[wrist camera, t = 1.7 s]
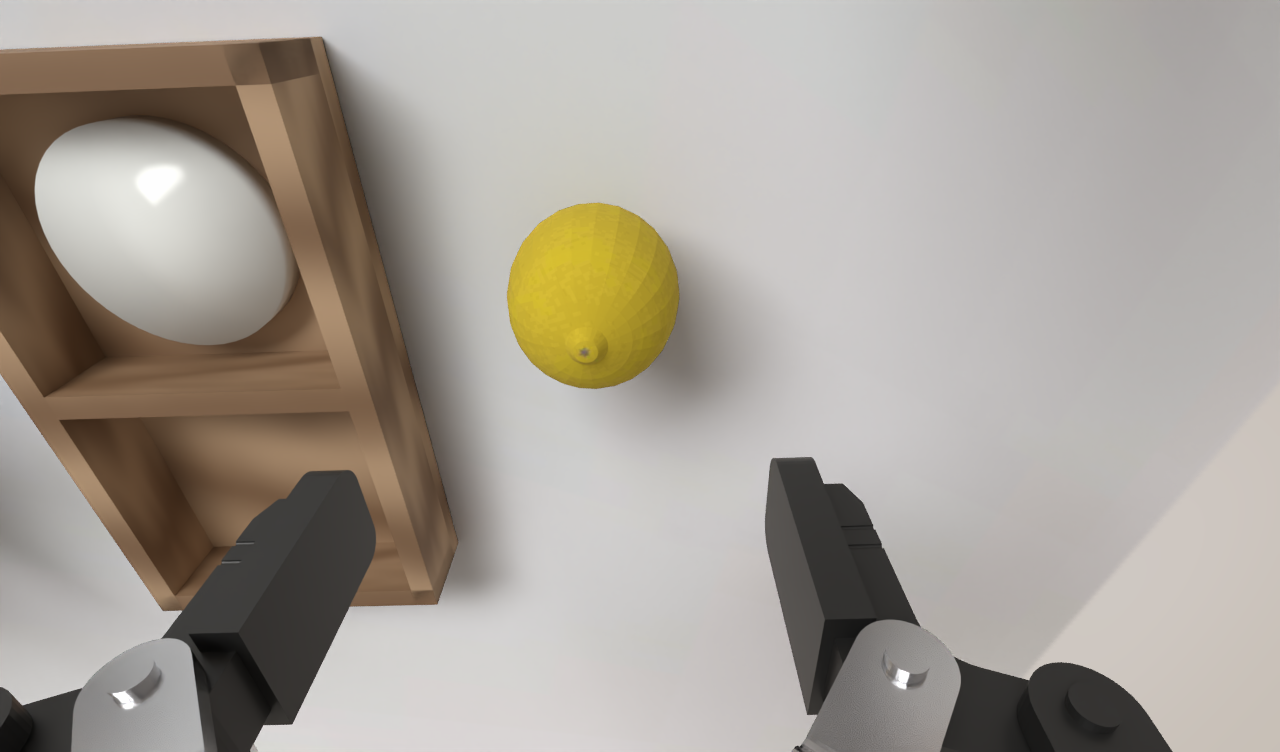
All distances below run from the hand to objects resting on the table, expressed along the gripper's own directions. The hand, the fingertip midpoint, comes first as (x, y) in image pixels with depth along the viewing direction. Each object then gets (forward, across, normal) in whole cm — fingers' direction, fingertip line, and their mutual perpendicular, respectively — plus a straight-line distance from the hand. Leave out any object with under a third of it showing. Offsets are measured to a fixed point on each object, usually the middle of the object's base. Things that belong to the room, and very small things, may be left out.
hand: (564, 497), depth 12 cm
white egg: (+13, +15, -2) cm, 20 cm away
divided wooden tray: (+14, +15, +4) cm, 21 cm away
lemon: (+14, 0, 0) cm, 14 cm away
